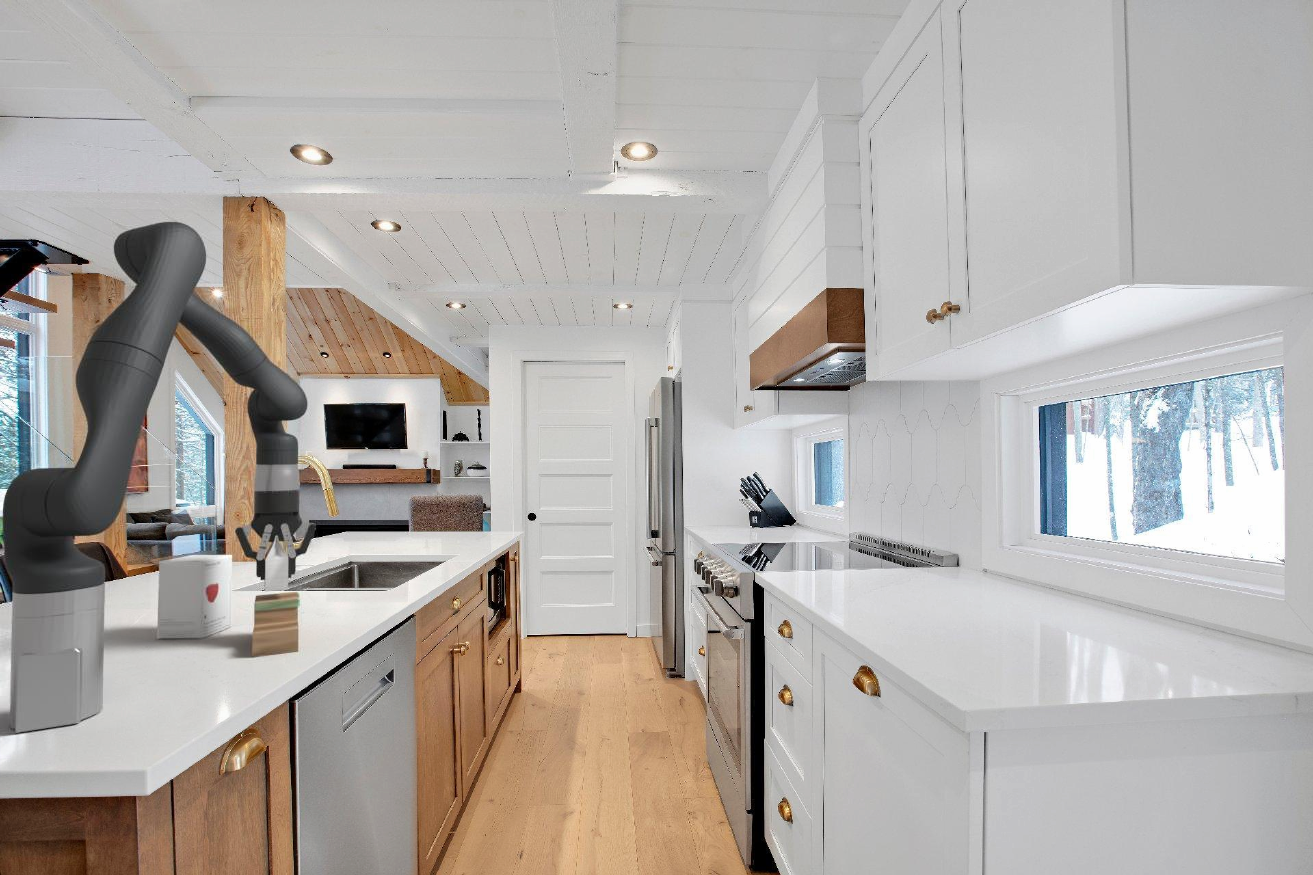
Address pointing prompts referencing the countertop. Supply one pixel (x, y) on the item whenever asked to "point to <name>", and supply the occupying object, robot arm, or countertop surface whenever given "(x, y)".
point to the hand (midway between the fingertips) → (276, 577)
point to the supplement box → (194, 596)
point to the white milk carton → (276, 567)
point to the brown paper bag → (275, 624)
